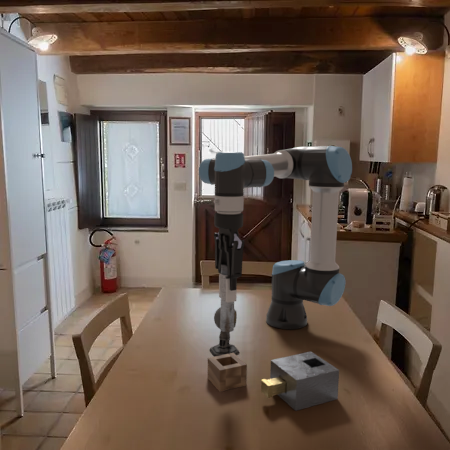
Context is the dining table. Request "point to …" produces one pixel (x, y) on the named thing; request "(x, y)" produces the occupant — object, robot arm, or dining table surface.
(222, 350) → the figurine
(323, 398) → the socket
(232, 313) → the steel round rod
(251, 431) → the dining table surface
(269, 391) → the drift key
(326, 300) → the robot arm
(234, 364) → the open box
